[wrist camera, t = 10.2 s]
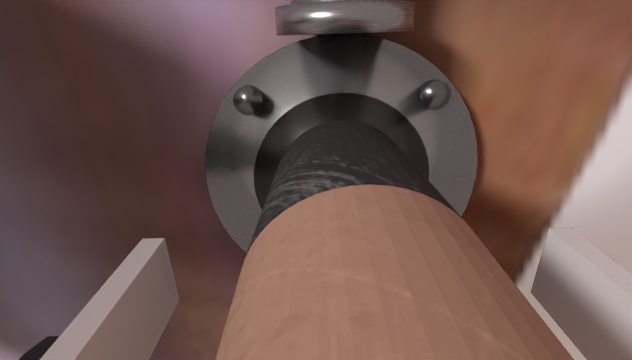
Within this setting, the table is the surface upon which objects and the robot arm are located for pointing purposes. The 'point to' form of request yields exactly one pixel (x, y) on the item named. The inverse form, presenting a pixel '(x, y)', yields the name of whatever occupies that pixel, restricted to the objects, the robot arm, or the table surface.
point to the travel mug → (371, 266)
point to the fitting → (336, 106)
